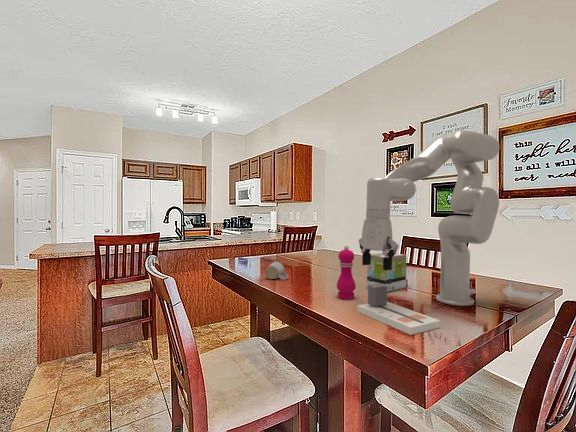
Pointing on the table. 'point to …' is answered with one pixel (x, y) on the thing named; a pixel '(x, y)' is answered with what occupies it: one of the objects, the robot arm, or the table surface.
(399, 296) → the table surface
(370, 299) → the fader
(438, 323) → the fader console
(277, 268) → the ceramic mug
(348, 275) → the pepper mill
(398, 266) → the tea box
